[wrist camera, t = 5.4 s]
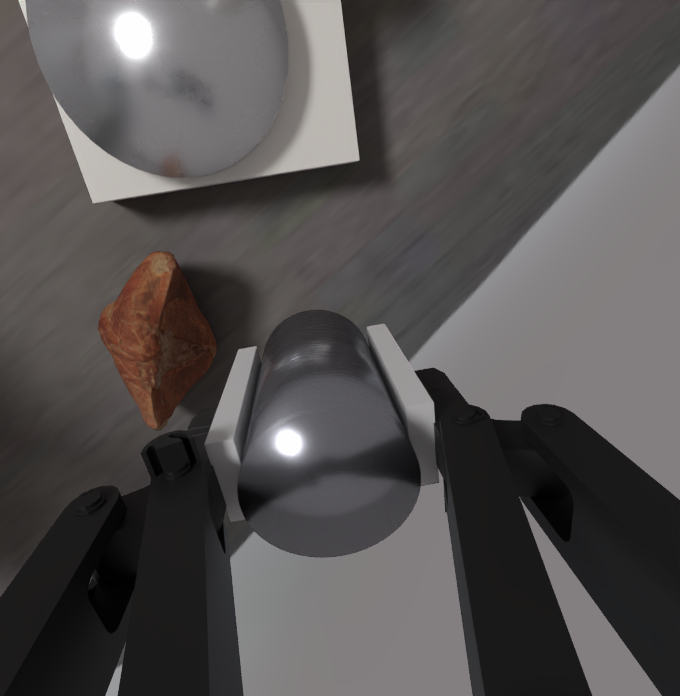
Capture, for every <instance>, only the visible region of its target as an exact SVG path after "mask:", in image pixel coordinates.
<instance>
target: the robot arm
mask: <svg viewBox="0 0 680 696" xmlns="http://www.w3.org/2000/svg"><path fill="white" fill-rule="evenodd" d="M367 334H368V341H369V349H370V351H371V353H372V355H373V358H374V360H375V362H376V365H377V367H378V369H379V371H380V374H381V376H382V378H383V381H384V383H385V385H386V387H387V390H388V392H389V394H390V396H391V399H392V401H393V403H394V406H395V408H396V410H397V412H398V415H399V417H400V419H401V421H402V424H403V426H404V428H405V431H406V433H407V435H408V437H409V440H410V442H411V444H412V446H413V449H414V451H415V453H416V456H417V459H418V462H419V465H420V471H421V486H424V485H429V484H435V483H439V473H438V469H439V470H440V473H441V474H442V476H443V481H444V497H445V512H447V515H448V522H449V529H450V536H451V544H452V551H453V558H454V565H455V573H456V580H457V587H458V594H459V601H460V608H461V615H462V622H463V629H464V637H465V644H466V651H467V658H468V665H469V673H470V680H471V687H472V693H473V696H592V694H591V692H590V689H589V686H588V683H587V680H586V678H585V675H584V672H583V670H582V667H581V664H580V661H579V659H578V656H577V653H576V650H575V648H574V645H573V642H572V639H571V637H570V634H569V632H568V629H567V626H566V623H565V620H564V618H563V615H562V612H561V609H560V607H559V604H558V602H557V599H556V596H555V594H554V590H553V588H552V585H551V582H550V579H549V577H548V574H547V571H546V569H545V566H544V563H543V560H542V558H541V555H540V552H539V549H538V547H537V544H536V541H535V539H534V536H533V533H532V531H531V528H530V525H529V522H528V519H527V517H526V514H525V511H524V509H523V506H522V503H521V501H520V498H521V500H522V502H523V503H524V504H525V506H526V507H527V509H528V510H529V511H530V513H531V514H532V515H533V517H534V518H535V520H536V521H537V522H538V524H539V525H540V527H541V528H542V529H543V531H544V532H545V534H546V535H547V536H548V537H549V539H550V541H551V542H552V543H553V545H554V546H555V547H556V549H557V550H558V551H559V553H560V554H561V556H562V557H563V558H564V560H565V561H566V562H567V564H568V566H569V567H570V568H571V570H572V571H573V572H574V574H575V575H576V576H577V578H578V579H579V581H580V582H581V583H582V585H583V586H584V588H585V589H586V591H587V592H588V593H589V595H590V596H591V598H592V599H593V600H594V602H595V603H596V604H597V606H598V607H599V609H600V610H601V611H602V613H603V614H604V616H605V617H606V618H607V620H608V621H609V623H610V624H611V625H612V627H613V628H614V629H615V631H616V632H617V633H618V635H619V636H620V638H621V639H622V641H623V642H624V643H625V645H626V646H627V648H628V649H629V650H630V652H631V653H632V655H633V656H634V657H635V659H636V660H637V661H638V663H639V664H640V666H641V667H642V668H643V670H644V671H645V673H646V674H647V675H648V677H649V678H650V680H651V681H652V682H653V684H654V685H655V686H656V688H657V689H658V691H659V692H660V693H661V695H662V696H680V500H679V499H678V498H676V497H675V496H674V495H673V494H671V493H670V492H669V491H668V490H667V489H666V488H664V487H663V486H662V485H661V484H659V483H658V482H657V481H656V480H654V479H653V478H652V477H651V476H650V475H648V474H647V473H646V472H645V471H643V470H642V469H641V468H640V467H638V466H637V465H636V464H635V463H634V462H633V461H631V460H630V459H629V458H627V457H626V456H625V455H624V454H623V453H621V452H620V451H619V450H618V449H617V448H615V447H614V446H613V445H612V444H610V443H609V442H608V441H607V440H606V439H604V438H603V437H602V436H601V435H599V434H598V433H597V432H596V431H594V430H593V429H592V428H591V427H590V426H588V425H587V424H586V423H585V422H584V421H582V420H581V419H580V418H579V417H577V416H576V415H575V414H574V413H572V412H571V411H569V410H567V409H565V408H562V407H559V406H556V405H549V404H540V405H533V406H530V407H527V408H526V409H525V410H524V411H522V415H521V421H508V420H507V421H506V420H494V419H490V416H489V415H488V413H487V412H486V411H485V410H483V409H482V408H480V407H477V406H473V405H469V404H468V403H467V402H466V401H465V399H464V398H463V397H462V395H461V394H460V393H459V391H458V390H457V389H456V388H455V387H454V385H453V384H452V382H450V380H449V379H448V377H447V376H446V375H445V373H443V372H441V371H439V370H437V369H435V368H429V369H423V370H418V371H414V370H413V369H412V367H411V365H410V364H409V362H408V361H407V359H406V357H405V356H404V354H403V353H402V351H401V349H400V348H399V346H398V345H397V343H396V341H395V340H394V338H393V337H392V335H391V333H390V332H389V330H388V329H387V327H386V325H385V324H380V325H375V326H369V327H367ZM260 368H261V361H260V357H259V353H258V349H257V346H255V347H249V348H243V349H238V352H237V355H236V358H235V360H234V363H233V366H232V369H231V372H230V374H229V377H228V380H227V383H226V385H225V388H224V391H223V394H222V397H221V399H220V402H219V405H218V408H212V409H207V410H201V411H200V412H199V413H198V414H197V415H196V416H195V417H194V418H193V419H192V420H191V423H190V425H189V427H188V430H187V431H180V430H178V431H173V432H169V433H166V434H164V435H161V436H159V437H157V438H155V439H154V440H152V441H150V442H149V443H148V444H147V445H146V446H145V447H144V448H143V450H142V452H141V455H142V458H143V460H144V462H145V465H146V467H147V469H148V472H149V474H150V477H151V485H149V486H147V487H145V488H142V489H140V490H137V491H135V492H132V493H130V494H127V495H125V496H122V497H121V494H120V492H119V490H118V488H116V487H114V486H101V487H98V488H94V489H91V490H89V491H88V492H85V493H83V494H81V495H80V496H79V497H77V498H76V499H75V500H73V501H72V502H71V503H70V504H69V505H68V506H67V507H66V508H65V509H64V511H63V512H62V513H61V515H60V516H59V517H58V519H57V520H56V522H55V523H54V524H53V526H52V527H51V528H50V530H49V531H48V533H47V534H46V535H45V537H44V538H43V539H42V541H41V542H40V544H39V545H38V546H37V548H36V549H35V550H34V552H33V553H32V555H31V556H30V557H29V559H28V560H27V561H26V563H25V564H24V566H23V567H22V568H21V570H20V571H19V572H18V574H17V575H16V577H15V578H14V579H13V581H12V582H11V583H10V585H9V586H8V588H7V589H6V590H5V592H4V593H3V595H2V596H1V597H0V696H105V695H106V692H107V689H108V687H109V684H110V681H111V679H112V676H113V674H114V671H115V669H116V666H117V663H118V661H119V658H120V655H121V653H122V650H123V648H124V645H125V642H126V646H125V652H124V659H123V665H122V672H121V679H120V685H119V691H118V696H243V686H242V677H241V666H240V656H239V646H238V636H237V626H236V616H235V606H234V597H233V586H232V576H231V566H230V556H229V546H228V535H227V531H226V528H225V525H224V523H223V519H224V514H225V510H227V513H228V516H229V519H230V522H234V521H240V520H245V517H244V516H243V513H242V511H241V509H240V505H239V501H238V493H237V486H238V477H239V472H240V467H241V462H242V457H243V452H244V447H245V443H246V438H247V433H248V428H249V423H250V418H251V413H252V408H253V403H254V398H255V393H256V388H257V383H258V378H259V373H260ZM519 496H520V498H519ZM91 576H92V577H93V578H92V580H91V582H90V579H91ZM89 582H90V584H89Z"/></svg>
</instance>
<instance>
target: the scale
mask: <svg viewBox="0 0 680 696" xmlns="http://www.w3.org/2000/svg"><path fill="white" fill-rule="evenodd" d="M280 1H281V4H282V9H283V13H284V18H285V22H286V29H287V38H288V75H287V84H286V88H285V93H284V97H283V101H282V104H281V107H280V109H279V112H278V115H277V117H276V119H275V121H274V123H273V125H272V127H271V129H270V130H269V132H268V133H267V134H266V136H265V137H264V139H263V140H262V142H261V143H260V144H259V145H258V146H257V147H256V148H255V149H254V150H253V151H252V152H251V153H250V154H249V155H248V156H246V157H245V158H244V159H243V160H241V161H240V162H238V163H237V164H235V165H233V166H231V167H230V168H228V169H225V170H223V171H220V172H218V173H215V174H211V175H207V176H203V177H194V178H175V177H165V176H160V175H154V174H151V173H148V172H144V171H141V170H138V169H136V168H134V167H132V166H129V165H127V164H125V163H123V162H121V161H119V160H118V159H116V158H114V157H113V156H111V155H110V154H108V153H106V152H105V151H104V150H103V149H101V148H100V147H99V146H97V145H96V144H95V143H93V142H92V141H91V140H90V139H89V138H88V137H87V136H86V135H85V134H84V133H83V132H82V131H81V130H80V129H79V128H78V127H77V126H76V125H75V123H74V122H73V121H72V120H71V119H70V118H69V116H68V115H67V114H66V113H65V111H64V110H63V108H62V107H61V105H60V104H59V103H58V101H57V100H56V98H55V96H54V95H53V96H54V98H55V101H56V104H57V106H58V109H59V112H60V115H61V117H62V120H63V123H64V125H65V128H66V131H67V134H68V136H69V139H70V142H71V144H72V147H73V150H74V153H75V155H76V158H77V161H78V164H79V166H80V169H81V172H82V174H83V177H84V180H85V183H86V185H87V188H88V191H89V193H90V196H91V199H92V202H93V203H101V202H112V201H119V200H125V199H131V198H137V197H143V196H150V195H156V194H162V193H168V192H175V191H181V190H187V189H193V188H199V187H206V186H212V185H218V184H224V183H230V182H237V181H243V180H249V179H255V178H262V177H268V176H274V175H280V174H286V173H293V172H299V171H305V170H311V169H317V168H324V167H330V166H336V165H342V164H349V163H354V162H357V161H359V151H358V143H357V134H356V126H355V117H354V109H353V101H352V92H351V84H350V75H349V67H348V58H347V50H346V41H345V33H344V24H343V16H342V7H341V0H280ZM19 3H20V6H21V9H22V11H23V14H24V17H25V19H26V22H27V14H26V2H25V0H19ZM27 25H28V23H27Z"/></svg>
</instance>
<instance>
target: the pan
mask: <svg viewBox="0 0 680 696" xmlns="http://www.w3.org/2000/svg"><path fill="white" fill-rule="evenodd" d="M25 2H26V14H27V23H28V28H29V33H30V38H31V42H32V46H33V49H34V52H35V55H36V58H37V62H38V64H39V66H40V69H41V71H42V73H43V76H44V78H45V80H46V82H47V84H48V86H49V87H50V89H51V91H52V93H53V95H54V96H55V98H56V100H57V101H58V103H59V104H60V105H61V107H62V108H63V110H64V111H65V113H66V114H67V115H68V116H69V118H70V119H71V120H72V121H73V122H74V123H75V125H76V126H77V127H78V128H79V129H80V130H81V131H82V132H83V133H84V134H85V135H86V136H87V137H88V138H89V139H90V140H91V141H92V142H93V143H95V144H96V145H97V146H99V147H100V148H101V149H103V150H104V151H105V152H106V153H108V154H110V155H111V156H113V157H114V158H116V159H118V160H119V161H121V162H123V163H125V164H127V165H129V166H132V167H134V168H136V169H138V170H141V171H144V172H148V173H151V174H154V175H160V176H165V177H175V178H194V177H203V176H207V175H211V174H215V173H218V172H220V171H223V170H225V169H228V168H230V167H231V166H233V165H235V164H237V163H238V162H240V161H241V160H243V159H244V158H245V157H246V156H248V155H249V154H250V153H251V152H252V151H253V150H254V149H255V148H256V147H257V146H258V145H259V144H260V143H261V142H262V140H263V139H264V137H265V136H266V134H267V133H268V132H269V130H270V129H271V127H272V125H273V123H274V121H275V119H276V117H277V115H278V112H279V109H280V107H281V104H282V101H283V97H284V93H285V88H286V84H287V75H288V38H287V29H286V22H285V18H284V13H283V9H282V4H281V1H280V0H25Z"/></svg>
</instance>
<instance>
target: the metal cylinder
mask: <svg viewBox="0 0 680 696" xmlns="http://www.w3.org/2000/svg"><path fill="white" fill-rule="evenodd" d="M420 486H421V471H420V465H419V462H418V459H417V456H416V453H415V451H414V449H413V446H412V444H411V442H410V440H409V437H408V435H407V433H406V431H405V428H404V426H403V424H402V421H401V419H400V417H399V415H398V412H397V410H396V408H395V406H394V403H393V401H392V399H391V396H390V394H389V392H388V390H387V387H386V385H385V383H384V381H383V378H382V376H381V374H380V371H379V369H378V367H377V365H376V362H375V360H374V358H373V355H372V353H371V351H370V349H369V346H368V344H367V342H366V340H365V338H364V336H363V334H362V332H361V331H360V330H359V328H358V327H357V326H356V325H355V324H354V323H353V322H351V321H350V320H349V319H347V318H346V317H344V316H342V315H340V314H337V313H334V312H331V311H325V310H309V311H304V312H300V313H297V314H295V315H292V316H291V317H289V318H287V319H286V320H284V321H283V322H281V323H280V324H279V325H278V326H277V327H276V328H275V329H274V331H273V332H272V333H271V335H270V337H269V338H268V340H267V343H266V345H265V349H264V353H263V358H262V363H261V368H260V373H259V378H258V383H257V388H256V393H255V398H254V403H253V408H252V413H251V418H250V423H249V428H248V433H247V438H246V443H245V447H244V452H243V457H242V462H241V467H240V472H239V477H238V486H237V493H238V501H239V505H240V509H241V511H242V513H243V516H244V517H245V519H246V521H247V522H248V524H249V525H250V526H251V528H252V529H253V530H254V531H255V532H256V533H257V534H258V535H259V536H260V537H261V538H263V539H264V540H265V541H267V542H268V543H270V544H272V545H274V546H276V547H277V548H279V549H282V550H285V551H287V552H290V553H294V554H297V555H302V556H308V557H336V556H343V555H348V554H351V553H355V552H358V551H361V550H364V549H366V548H369V547H371V546H373V545H375V544H377V543H379V542H380V541H382V540H384V539H385V538H386V537H388V536H389V535H391V534H392V533H393V532H394V531H395V530H397V529H398V528H399V527H400V526H401V525H402V523H403V522H404V521H405V520H406V519H407V517H408V516H409V514H410V513H411V511H412V510H413V507H414V506H415V503H416V501H417V498H418V495H419V492H420Z"/></svg>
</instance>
